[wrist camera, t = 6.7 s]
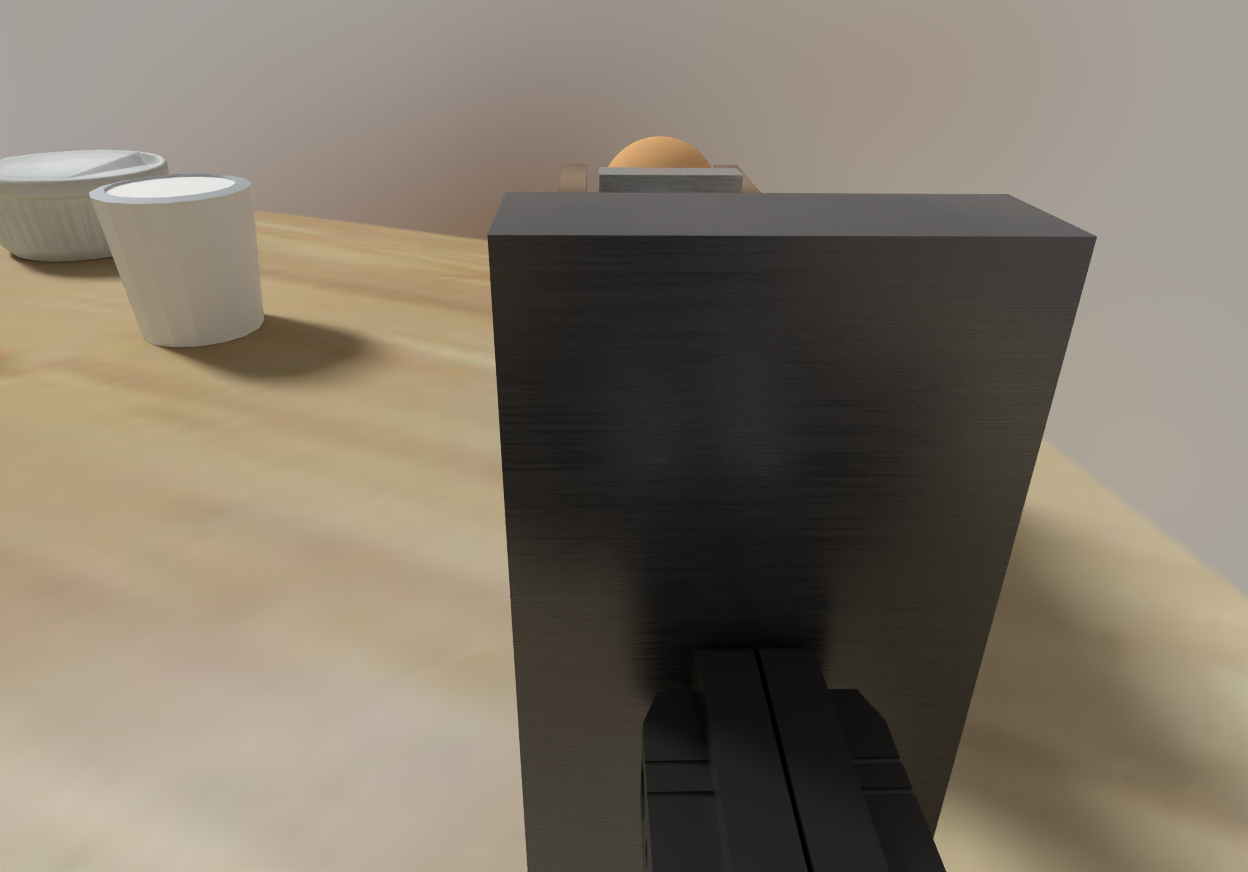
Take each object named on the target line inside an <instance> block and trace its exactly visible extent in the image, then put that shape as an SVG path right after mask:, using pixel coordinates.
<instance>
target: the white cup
mask: <svg viewBox="0 0 1248 872" xmlns="http://www.w3.org/2000/svg"><path fill="white" fill-rule="evenodd" d="M89 194H90V199H91V201H92V204H93V206H94V209H95V212H96V214H97V217H98V220H99V222H100V225H101V228H102V230H103V233H104V235H105V238H106V241H107V243H108V246H109V249H110V251H111V254H112V256H113V259H114V262H115V264H116V267H117V270H118V272H119V275H120V278H121V280H122V283H123V285H124V288H125V291H126V293H127V296H128V299H129V301H130V304H131V306H132V309H133V312H134V314H135V317H136V320H137V322H138V325H139V328H140V330H141V333H142V335H143V338H144V340H145V341H147V342H150V343H152V344H154V345H158V346H167V347H199V346H206V345H212V344H218V343H224V342H228V341H231V340H234V339H237V338H241V337H244V336H246V335H248V334H250V333H252V332H254V331H256V330H257V329H259V328H260V327H261V325H262V324H263V322H264V314H263V303H262V292H261V282H260V271H259V260H258V249H257V239H256V228H255V217H254V206H253V196H252V185H251V183H250V182H249V181H248V180H247V179H244V178H239V177H235V176H226V175H211V174H174V175H161V176H151V177H144V178H137V179H130V180H125V181H121V182H117V183H113V184H109V185H104V186H101V187H99V188H97V189H95V190H93V191H91V192H89Z"/></svg>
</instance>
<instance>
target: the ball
mask: <svg viewBox="0 0 1248 872" xmlns="http://www.w3.org/2000/svg"><path fill="white" fill-rule="evenodd" d="M609 167H630V168H711V166H710V164H709V163H708V161H707V160H706V159H705V157H704V156H703V155H702V154H701V153H700V152H699V151H698V150H697V149H695V148H694V147H692V146H691V145H689V144H688V143H686V142H683V141H681V140H678V139H675V138H670V137H661V136H660V137H650V138H645V139H642V140H639V141H637V142H635V143H633V144H631V145H629V146H628V147H626V148H625V149H623V151H621V152H620V153H619V154H618V155H617V156H616V157H615V158H614V160H613V161H612V162H611V164H610V165H609Z"/></svg>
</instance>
